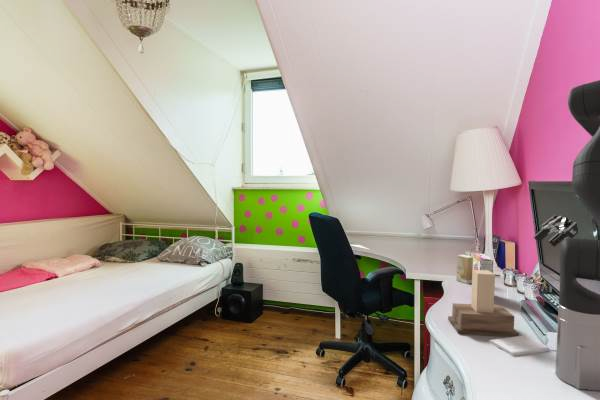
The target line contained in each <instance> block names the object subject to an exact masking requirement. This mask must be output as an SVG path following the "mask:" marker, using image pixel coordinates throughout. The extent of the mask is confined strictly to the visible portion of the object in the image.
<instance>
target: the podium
mask: <svg viewBox="0 0 600 400" xmlns="http://www.w3.org/2000/svg"><path fill="white" fill-rule="evenodd" d="M451 308H452V310H451V311H452V313H451V314H452V315H450V316H449V315H448V316H447V317H448V318H447V320H448V322H449V323H450V325H452V327H453V328H454V330H455V331H456V333H457V334H458V335H472V336H473V335H474V336H487V337H501V338H502V337H503V338H509V337H516V336H520V334H519V332H518V331H517V330H516V329H515V316H514V315H513V314H512V313H511V312H509V311H508V310H507V309H506V308H505V307H503V306H502V305H495V304H494V313H487V312H476V311H475V310H474V309H473V308H472V307H471V303H453V302H452V307H451Z"/></svg>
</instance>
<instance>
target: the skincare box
mask: <svg viewBox="0 0 600 400" xmlns="http://www.w3.org/2000/svg"><path fill="white" fill-rule="evenodd" d="M456 259H457V261H456V275H455V276H456V278H455V279H456V281H458V282H461V283H464V284H466V285H468V284H472V270H473V255H469V254H468V255H467V254H457V258H456Z"/></svg>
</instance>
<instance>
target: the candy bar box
mask: <svg viewBox="0 0 600 400" xmlns="http://www.w3.org/2000/svg"><path fill="white" fill-rule="evenodd" d="M472 257H473V270H488V271H490V272H492V273H493V274H494V259H493V258H491V257H490V256H488V255H487V254H486V253H473V254H472Z"/></svg>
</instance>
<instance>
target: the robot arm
mask: <svg viewBox="0 0 600 400" xmlns="http://www.w3.org/2000/svg"><path fill="white" fill-rule="evenodd" d="M567 105H568V109H569V112H570V114H571V116H572V117H573V118H574V120H575V121H576V123H578V124H579V125H580V126H581V127H582V129H584V130H585V131H586V132H587V134H588V135H590V136H591V138H590V139H589V141H588V142H587V143H586V144H585V145H584V146H583V148H582V149H581V150H580V151H579V152H578V153H577V155H576V157H575V159H574V160H573V164H572V176H571V188H572V190H573V192H574V194H575V196H577V197H578V198H579V200H580V201H581V202H582V203H583V205H584V206H585V207H586V208H587V210H588V211H589V212H590V213H591V215H592V216H593V218H592V219H594V221H595V223H596V224H597V227H598V229H599V230H600V79H599V80H595V81H592V82H588V83H583V84H581V85H577V86H575V87H573V88H572V89H571V90H570V91H569V93H568V96H567ZM556 215H557V214H553V215H552V216H551V217H550V218H548V219H547V220H545V222H544V223H542V224H540V228H541V230H540V231H538V232H537V233H536V234H535V235H534V236H533V239H534V240H536V242H537V243H538V242H542V241H543V239H545V238H546V237H547V236H548V235H549V234H552V233H553V232H554V233H555V235H553V236H552V237H550V239H548V244H550V245H551V246H552V247H556V246H557V245H559V244H560V243H561V244H560V245H559V293H558V312H557V328H556V329H557V331H556V332H557V333H556V351H555V352H556V353H555V375H556V377H557V378H558V379H560V380H561V381H563V382H564V383H567V384H569V385H570V386H573V387H574V388H575V389H577V390H585V389H588V390H589V391H598V390H600V294H599V293H597V292H595V291H593V290H590V289H588V288H587V287H585V286H584V285H582V284H581V283H579V281H578V280H577V279H580V280H581V279H582V280H587V281H588V280H589V281H596V282H600V239H588V238H577V237H575V236H576V235H577V234H578V228H577V222H574V223H573V224H572V225H571V223H572V221H571V220H568V218H567V217H562V216H561V215H559V216H558V215H557V216H558V217H557V216H556ZM572 229H573V231H572ZM588 390H587V391H588Z"/></svg>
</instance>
